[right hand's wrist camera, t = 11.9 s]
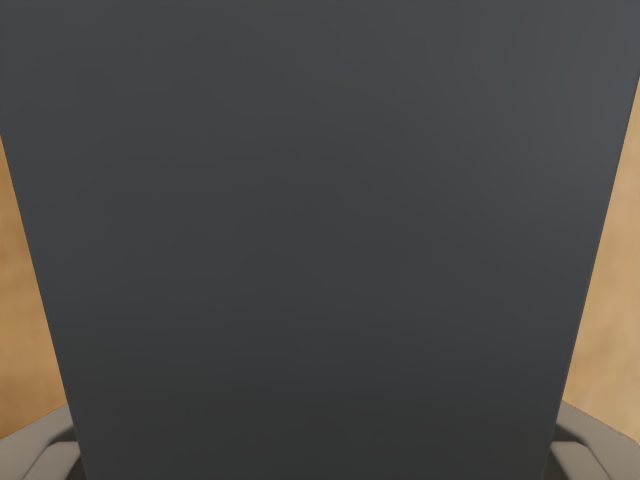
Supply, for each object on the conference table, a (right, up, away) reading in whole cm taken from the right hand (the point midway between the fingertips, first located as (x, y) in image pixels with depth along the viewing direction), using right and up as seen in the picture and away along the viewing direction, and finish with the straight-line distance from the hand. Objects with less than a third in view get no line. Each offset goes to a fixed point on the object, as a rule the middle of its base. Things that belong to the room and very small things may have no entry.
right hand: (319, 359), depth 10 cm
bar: (0, +9, +1) cm, 9 cm away
